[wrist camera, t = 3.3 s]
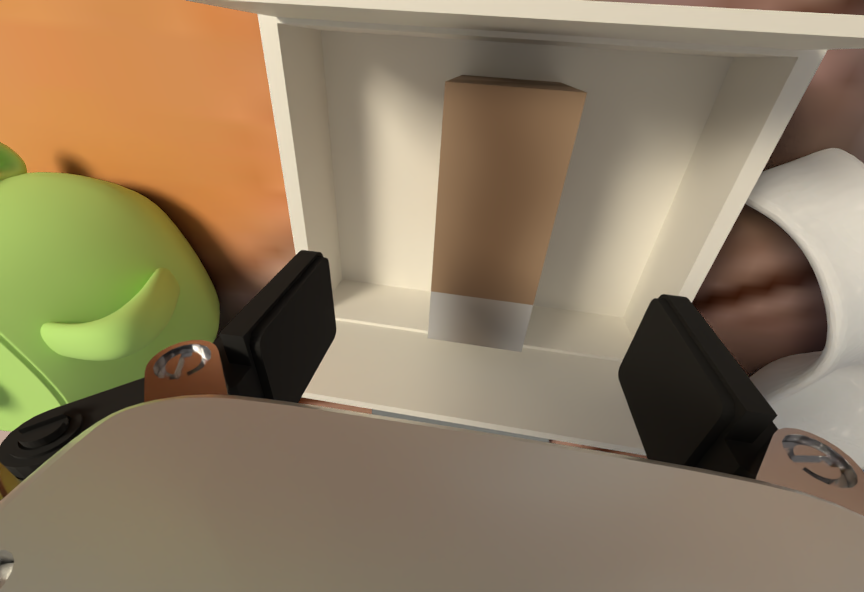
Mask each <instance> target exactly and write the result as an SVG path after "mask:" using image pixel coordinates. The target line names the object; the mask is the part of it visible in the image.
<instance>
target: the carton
mask: <svg viewBox="0 0 864 592" xmlns="http://www.w3.org/2000/svg"><path fill="white" fill-rule="evenodd" d="M186 1H192V2H197V3H202V4H208V5H213V6H219V7H224V8H229V9H235V10H240V11H245V12H251V13H256V14H258V20H259V26H260V33H261V39H262V45H263V51H264V58H265V64H266V70H267V77H268V83H269V89H270V95H271V102H272V108H273V114H274V121H275V127H276V133H277V139H278V146H279V152H280V158H281V165H282V171H283V177H284V183H285V190H286V196H287V202H288V208H289V215H290V221H291V227H292V234H293V240H294V246H295V252H296V254H297V253H298V252H299V251H301V250H307V251H315V252H321V253H322V254H323V257H325V258H328V260H329V267H330V276H331V285H332V293H333V302H334V311H335V320H336V335H335V338H334V340H333V342H332V344H331V345H330V347H329V349H328V351H327V352H326V354H325V356H324V358H323V360H322V361H321V363H320V365H319V367H318V368H317V370H316V372H315V374H314V376H313V377H312V379H311V381H310V383H309V384H308V386H307V388H306V390H305V391H304V393H303V395H302V397H304V398H310V399H316V400H322V401H328V402H334V403H340V404H345V405H351V406H357V407H363V408H369V409H375V410H381V411H387V412H393V413H398V414H404V415H410V416H416V417H422V418H428V419H434V420H440V421H446V422H451V423H457V424H463V425H469V426H475V427H481V428H487V429H493V430H499V431H504V432H510V433H516V434H522V435H528V436H534V437H540V438H546V439H552V440H557V441H563V442H569V443H575V444H581V445H587V446H593V447H599V448H605V449H610V450H616V451H622V452H628V453H634V454H640V455H646V453H645V450H644V447H643V445H642V442H641V439H640V436H639V434H638V431H637V428H636V426H635V423H634V420H633V417H632V415H631V412H630V409H629V406H628V404H627V401H626V398H625V395H624V393H623V390H622V387H621V385H620V382H619V378H618V371H619V367H620V365H621V363H622V361H623V359H624V356H625V354H626V352H627V350H628V348H629V346H630V344H631V342H632V340H633V338H634V335H635V333H636V331H637V329H638V327H639V325H640V323H641V321H642V319H643V316H644V314H645V312H646V310H647V308H648V306H649V304H650V302H651V300H653V299H654V298H657V299H658V297H659V296H660V295H662V294H667V295H675V296H683V297H687V298H688V299H689V300H690V301H691V303H692V301H693V300H694V298H695V296H696V294H697V292H698V290H699V288H700V286H701V285H702V283H703V281H704V279H705V277H706V275H707V273H708V272H709V270H710V268H711V266H712V264H713V262H714V260H715V259H716V257H717V255H718V253H719V251H720V249H721V247H722V245H723V244H724V242H725V240H726V238H727V236H728V234H729V232H730V231H731V229H732V227H733V225H734V223H735V221H736V219H737V218H738V216H739V214H740V212H741V210H742V208H743V206H744V204H745V203H746V201H747V199H748V197H749V195H750V193H751V191H752V190H753V188H754V186H755V184H756V182H757V180H758V178H759V177H760V175H761V173H762V171H763V169H764V167H765V165H766V163H767V162H768V160H769V158H770V156H771V154H772V152H773V150H774V149H775V147H776V145H777V143H778V141H779V139H780V137H781V136H782V134H783V132H784V130H785V128H786V126H787V124H788V122H789V121H790V119H791V117H792V115H793V113H794V111H795V109H796V108H797V106H798V104H799V102H800V100H801V98H802V96H803V95H804V93H805V91H806V89H807V87H808V85H809V83H810V81H811V80H812V78H813V76H814V74H815V72H816V70H817V68H818V67H819V65H820V63H821V61H822V59H823V57H824V55H825V54H826V52H827V50H828V49H861V48H864V15H845V14H826V13H808V12H789V11H770V10H751V9H733V8H714V7H695V6H676V5H658V4H639V3H620V2H602V1H583V0H186ZM460 75H471V76H484V77H498V78H511V79H524V80H538V81H551V82H561V83H564V84H566V85H569V86H571V87H574V88H576V89H579V90H582V91H584V92H587V95H586V99H585V103H584V107H583V111H582V115H581V119H580V123H579V127H578V131H577V135H576V139H575V143H574V146H573V150H572V154H571V158H570V162H569V166H568V170H567V174H566V178H565V182H564V186H563V190H562V194H561V198H560V202H559V206H558V210H557V214H556V217H555V221H554V225H553V229H552V233H551V237H550V241H549V245H548V249H547V253H546V257H545V261H544V265H543V269H542V273H541V277H540V281H539V284H538V288H537V292H536V296H535V300H534V304H533V308H532V312H531V316H530V320H529V324H528V328H527V332H526V336H525V340H524V344H523V348H522V352H517V351H510V350H504V349H497V348H490V347H483V346H477V345H470V344H463V343H456V342H449V341H443V340H436V339H429V338H428V325H429V311H430V296H431V281H432V266H433V252H434V237H435V222H436V207H437V192H438V178H439V163H440V148H441V133H442V118H443V104H444V89H445V81H448V80H450V79H453V78H455V77H458V76H460Z"/></svg>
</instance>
